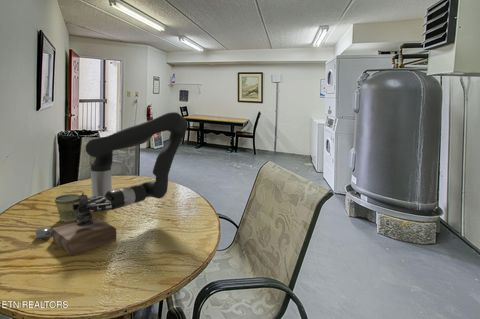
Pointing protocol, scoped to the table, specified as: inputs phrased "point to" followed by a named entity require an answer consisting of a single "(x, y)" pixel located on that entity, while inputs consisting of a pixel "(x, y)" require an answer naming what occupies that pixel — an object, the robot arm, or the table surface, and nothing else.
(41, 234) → the grey metal puck
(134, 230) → the table surface
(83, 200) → the salt shaker
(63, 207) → the ceramic cup
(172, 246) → the table surface
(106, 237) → the walnut stand
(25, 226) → the table surface
